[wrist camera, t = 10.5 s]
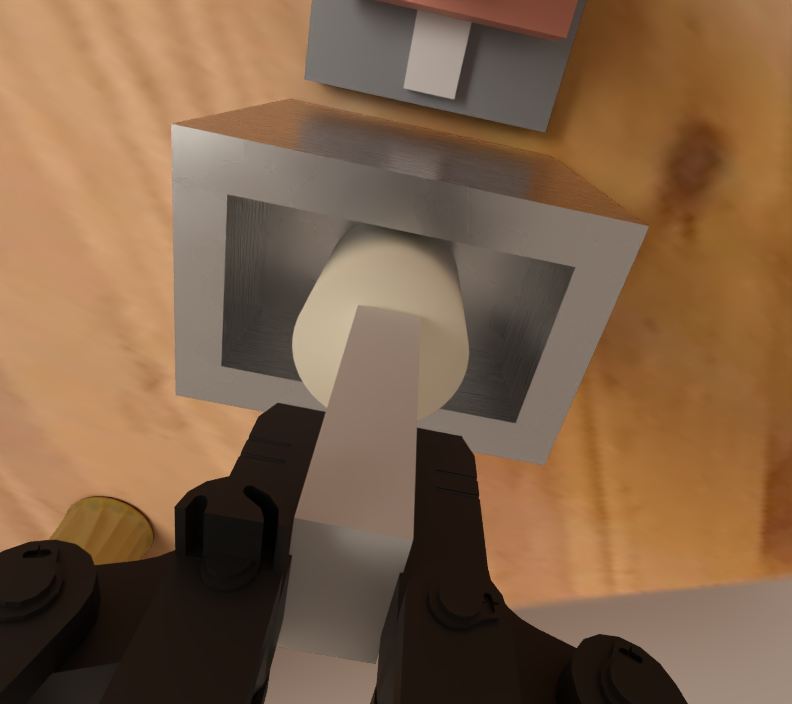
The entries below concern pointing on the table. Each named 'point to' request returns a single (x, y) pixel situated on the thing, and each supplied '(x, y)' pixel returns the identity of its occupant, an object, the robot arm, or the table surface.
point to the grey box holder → (402, 210)
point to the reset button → (392, 291)
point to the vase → (106, 530)
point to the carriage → (505, 14)
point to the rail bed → (437, 60)
